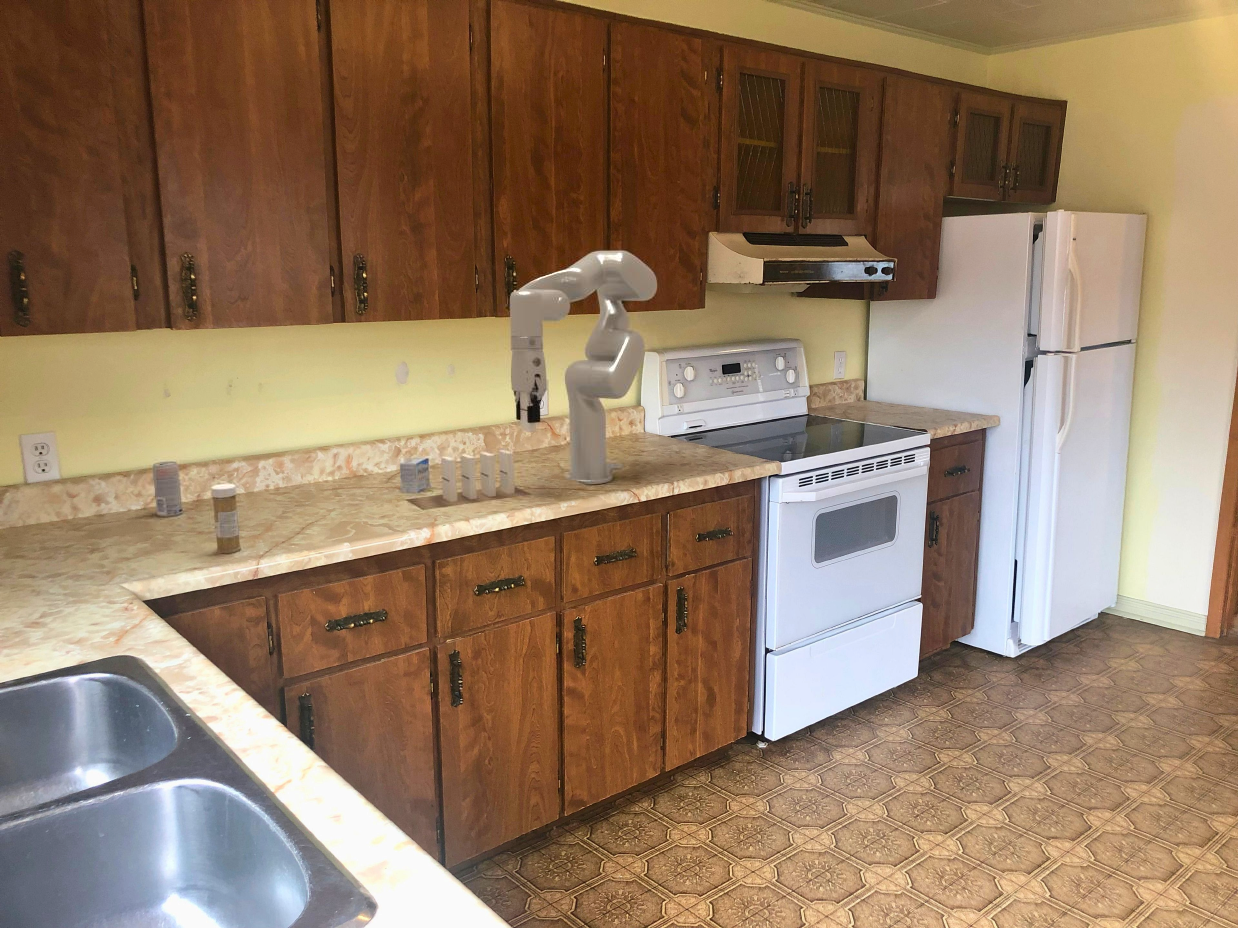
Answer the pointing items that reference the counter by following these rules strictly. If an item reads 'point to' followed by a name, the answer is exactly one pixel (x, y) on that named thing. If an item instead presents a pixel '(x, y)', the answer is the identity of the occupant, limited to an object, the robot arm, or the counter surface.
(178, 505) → the energy drink
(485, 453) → the domino
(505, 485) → the domino
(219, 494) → the sprinkles bottle
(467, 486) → the domino
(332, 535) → the counter surface
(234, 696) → the counter surface
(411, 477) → the medicine box
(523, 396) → the domino
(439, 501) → the walnut board
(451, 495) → the domino
